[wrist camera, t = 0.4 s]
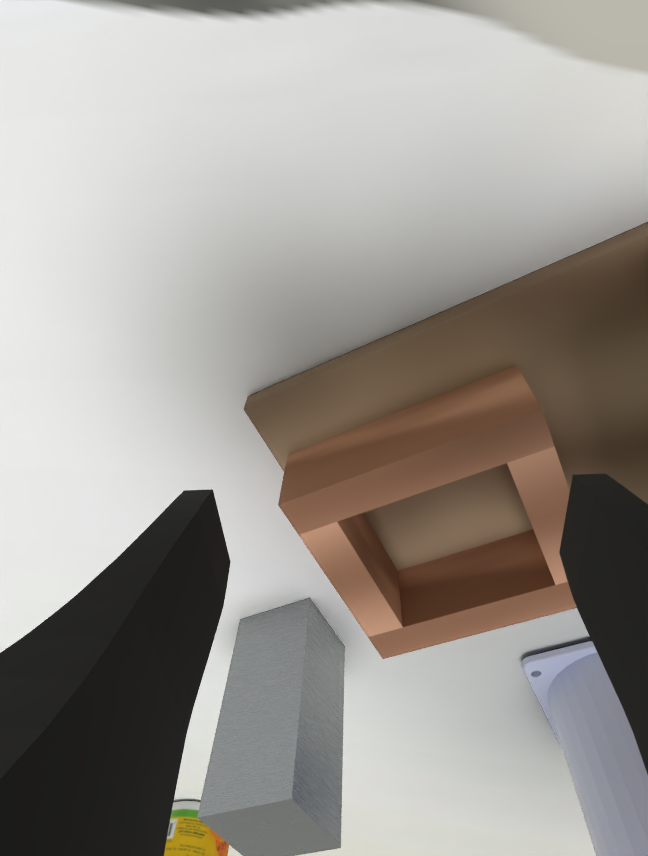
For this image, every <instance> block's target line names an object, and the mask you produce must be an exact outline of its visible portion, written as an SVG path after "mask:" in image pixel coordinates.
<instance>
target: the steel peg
mask: <svg viewBox="0 0 648 856" xmlns="http://www.w3.org/2000/svg"><path fill="white" fill-rule="evenodd" d="M344 654H345V646H344V645H343V644H342V642H341V641H340V639H339V638H338V637H337V635H336V634H335V633H334V631H333V630H332V628H331V627H330V626H329V624H328V623H327V621H326V620H325V619H324V617H323V616H322V614H321V613H320V612H319V610H318V609H317V608H316V606H315V605H314V603H313V602H312V601H311V599H310V598H308V599H305V600H302V601H299V602H295V603H292V604H289V605H286V606H282V607H279V608H276V609H273V610H269V611H266V612H263V613H260V614H256V615H253V616H250V617H247V618H244V619H240V623H239V627H238V632H237V637H236V641H235V646H234V650H233V655H232V660H231V664H230V669H229V673H228V678H227V683H226V687H225V692H224V696H223V701H222V706H221V710H220V715H219V719H218V724H217V729H216V733H215V738H214V742H213V747H212V752H211V756H210V761H209V765H208V770H207V775H206V779H205V784H204V788H203V793H202V798H201V802H200V807H199V811H198V816H197V818H198V819H199V820H200V821H202V822H203V823H204V824H205V825H206V826H208V827H209V828H210V829H211V830H213V831H214V832H215V833H216V834H217V835H219V836H220V837H221V838H222V839H223V840H225V841H226V842H227V843H228V844H229V845H231V846H232V847H233V848H234V849H235V850H237V851H238V852H239V853H240V854H241V855H243V856H295V855H301V854H307V853H313V852H319V851H325V850H331V849H337V848H341V808H342V757H343V705H344Z"/></svg>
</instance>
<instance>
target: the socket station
mask: <svg viewBox="0 0 648 856" xmlns="http://www.w3.org/2000/svg"><path fill="white" fill-rule="evenodd" d="M244 410H245V412H246V414H247V415H248V417H249V418H250V420H251V421H252V423H253V424H254V426H255V427H256V429H257V431H258V432H259V434H260V435H261V437H262V438H263V440H264V441H265V443H266V444H267V446H268V448H269V449H270V451H271V452H272V454H273V455H274V457H275V458H276V460H277V461H278V463H279V465H280V466H281V468H282V469H283V471H284V477H283V482H282V488H281V493H280V499H279V504H278V505H279V507H280V508H281V509H282V511H283V512H284V514H285V515H286V517H287V518H288V520H289V521H290V523H291V524H292V526H293V527H294V529H295V530H296V532H297V533H298V534H299V536H300V537H301V539H302V540H303V542H304V543H305V545H306V546H307V548H308V549H309V551H310V552H311V554H312V555H313V557H314V558H315V560H316V561H317V562H318V564H319V565H320V567H321V568H322V570H323V571H324V573H325V574H326V576H327V577H328V579H329V580H330V582H331V583H332V585H333V586H334V588H335V589H336V590H337V592H338V593H339V595H340V596H341V598H342V599H343V601H344V602H345V604H346V605H347V607H348V608H349V610H350V611H351V613H352V614H353V615H354V617H355V618H356V620H357V621H358V623H359V624H360V626H361V627H362V629H363V630H364V632H365V633H366V635H367V636H368V638H369V639H370V641H371V642H372V643H373V645H374V646H375V648H376V649H377V651H378V652H379V654H380V655H381V657H382V658H383V659H385V658H388V657H392V656H396V655H400V654H403V653H407V652H411V651H415V650H419V649H422V648H426V647H430V646H434V645H438V644H441V643H445V642H449V641H453V640H456V639H460V638H464V637H468V636H472V635H475V634H479V633H483V632H487V631H490V630H494V629H498V628H502V627H506V626H509V625H513V624H517V623H521V622H525V621H528V620H532V619H536V618H540V617H543V616H547V615H551V614H555V613H559V612H562V611H566V610H570V609H574V608H577V606H576V604H575V602H574V599H573V596H572V593H571V590H570V587H569V584H568V581H567V578H566V574H565V571H564V567H563V564H562V560H561V557H560V554H559V551H560V545H561V539H562V534H563V528H564V522H565V516H566V511H567V505H568V499H569V493H570V488H571V482H572V476H573V475H579V474H604V473H605V474H607V475H608V476H610V477H611V478H613V479H614V480H616V481H617V482H618V483H620V484H621V485H623V486H624V487H625V488H627V489H628V490H629V491H631V492H632V493H633V494H635V495H636V496H637V497H639V498H640V499H641V500H643V501H644V502H645V503H647V504H648V223H645V224H643V225H641V226H638V227H636V228H634V229H631V230H629V231H627V232H625V233H622V234H620V235H618V236H615V237H613V238H611V239H608V240H606V241H604V242H602V243H599V244H597V245H595V246H592V247H590V248H588V249H586V250H583V251H581V252H579V253H576V254H574V255H572V256H569V257H567V258H565V259H563V260H560V261H558V262H556V263H553V264H551V265H549V266H546V267H544V268H542V269H540V270H537V271H535V272H533V273H530V274H528V275H526V276H524V277H521V278H519V279H517V280H514V281H512V282H510V283H507V284H505V285H503V286H501V287H498V288H496V289H494V290H491V291H489V292H487V293H484V294H482V295H480V296H478V297H475V298H473V299H471V300H468V301H466V302H464V303H461V304H459V305H457V306H455V307H452V308H450V309H448V310H445V311H443V312H441V313H439V314H436V315H434V316H432V317H429V318H427V319H425V320H422V321H420V322H418V323H416V324H413V325H411V326H409V327H406V328H404V329H402V330H399V331H397V332H395V333H393V334H390V335H388V336H386V337H383V338H381V339H379V340H377V341H374V342H372V343H370V344H367V345H365V346H363V347H360V348H358V349H356V350H354V351H351V352H349V353H347V354H344V355H342V356H340V357H337V358H335V359H333V360H331V361H328V362H326V363H324V364H321V365H319V366H317V367H315V368H312V369H310V370H308V371H305V372H303V373H301V374H298V375H296V376H294V377H292V378H289V379H287V380H285V381H282V382H280V383H278V384H275V385H273V386H271V387H269V388H266V389H264V390H262V391H259V392H257V393H255V394H252V395H250V396H248V398H247V401H246V404H245V407H244Z"/></svg>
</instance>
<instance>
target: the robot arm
mask: <svg viewBox="0 0 648 856" xmlns="http://www.w3.org/2000/svg"><path fill="white" fill-rule="evenodd" d="M559 554H560V557H561V560H562V564H563V567H564V571H565V574H566V578H567V581H568V584H569V587H570V590H571V593H572V596H573V599H574V602H575V604H576V606H577V609H578V611H579V613H580V615H581V618H582V620H583V622H584V624H585V626H586V629H587V631H588V633H589V635H590V638H591V640H592V641H589V642H584V643H580V644H576V645H572V646H568V647H564V648H560V649H556V650H552V651H548V652H544V653H540V654H536V655H532V656H528V657H526V658H524V659H523V660H522V666H523V670H524V672H525V674H526V676H527V678H528V680H529V682H530V684H531V686H532V688H533V690H534V692H535V694H536V696H537V698H538V700H539V702H540V705H541V707H542V709H543V711H544V713H545V715H546V717H547V719H548V721H549V723H550V725H551V727H552V729H553V731H554V733H555V735H556V737H557V739H558V741H559V743H560V745H561V747H562V749H563V751H564V755H565V758H566V761H567V764H568V767H569V771H570V774H571V777H572V780H573V783H574V786H575V790H576V793H577V796H578V799H579V802H580V806H581V809H582V812H583V815H584V818H585V821H586V825H587V828H588V831H589V834H590V837H591V841H592V844H593V847H594V850H595V853H596V856H648V504H647V503H645V502H644V501H643V500H641V499H640V498H639V497H637V496H636V495H635V494H633V493H632V492H631V491H629V490H628V489H627V488H625V487H624V486H623V485H621V484H620V483H618V482H617V481H616V480H614V479H613V478H611V477H610V476H608V475H607V474H605V473H604V474H579V475H573V476H572V482H571V488H570V493H569V499H568V505H567V511H566V516H565V522H564V528H563V534H562V539H561V545H560V551H559ZM229 567H230V559H229V555H228V550H227V546H226V542H225V538H224V534H223V530H222V526H221V522H220V518H219V514H218V509H217V505H216V501H215V497H214V493H213V490H190V491H183V492H182V493H181V494H180V495H179V496H178V497H177V498H176V499H175V500H174V501H173V502H172V503H171V504H170V505H169V506H168V507H167V508H166V509H165V511H164V512H163V513H162V514H161V515H160V516H159V517H158V518H157V519H156V520H155V521H154V522H153V523H152V524H151V525H150V526H149V527H148V528H147V529H146V530H145V531H144V532H143V533H142V534H141V535H140V536H139V537H138V538H137V539H136V540H135V541H134V542H133V543H132V544H131V545H130V546H129V547H128V548H127V549H126V550H125V551H124V552H123V553H122V554H121V555H120V556H119V557H118V558H117V559H116V560H115V561H114V562H112V563H111V564H110V565H109V566H108V567H107V568H106V569H105V570H104V571H103V572H101V573H100V574H99V575H98V576H97V577H96V578H95V579H94V580H93V581H92V582H90V583H89V584H88V585H87V586H86V587H85V588H84V589H83V590H82V591H81V592H79V593H78V594H77V595H76V596H75V597H74V598H72V599H71V600H70V601H69V602H68V603H66V604H65V605H64V606H63V607H62V608H60V609H59V610H58V611H57V612H55V613H54V614H53V615H52V616H50V617H49V618H48V619H46V620H45V621H44V622H42V623H41V624H40V625H39V626H37V627H36V628H35V629H33V630H32V631H31V632H30V633H28V634H27V635H25V636H24V637H23V638H21V639H20V640H19V641H17V642H16V643H14V644H13V645H11V646H10V647H8V648H7V649H5V650H4V651H3V652H1V653H0V856H164V853H165V846H166V840H167V835H168V829H169V823H170V818H171V812H172V806H173V801H174V795H175V790H176V784H177V779H178V774H179V769H180V764H181V759H182V754H183V749H184V743H185V738H186V734H187V729H188V726H189V722H190V718H191V714H192V710H193V706H194V703H195V700H196V696H197V693H198V690H199V686H200V683H201V680H202V676H203V673H204V670H205V666H206V663H207V660H208V657H209V653H210V650H211V647H212V643H213V640H214V636H215V633H216V630H217V626H218V623H219V619H220V616H221V612H222V609H223V604H224V599H225V593H226V587H227V581H228V574H229Z"/></svg>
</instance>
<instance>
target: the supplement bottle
mask: <svg viewBox="0 0 648 856" xmlns="http://www.w3.org/2000/svg"><path fill="white" fill-rule="evenodd" d="M199 807H200V802H198V801H179V802H174V803H173V806H172V812H171V818H170V823H169V829H168V835H167V840H166V846H165V853H164V856H227V854H228V848H229V844H228V843H227V842H226V841H225V840H223V839H222V838H221V837H220V836H219V835H217V834H216V833H215V832H214V831H213V830H211V829H210V828H209V827H208V826H206V825H205V824H204V823H203V822H202V821H200V820H199V819H198V818H197V816H198V811H199Z"/></svg>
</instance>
